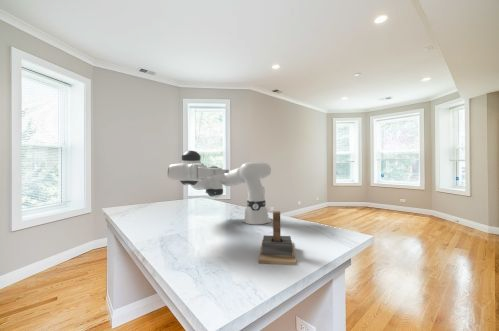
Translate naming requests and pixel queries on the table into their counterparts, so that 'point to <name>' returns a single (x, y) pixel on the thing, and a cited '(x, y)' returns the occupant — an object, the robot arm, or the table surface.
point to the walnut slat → (276, 226)
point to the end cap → (277, 251)
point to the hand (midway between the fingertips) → (226, 171)
